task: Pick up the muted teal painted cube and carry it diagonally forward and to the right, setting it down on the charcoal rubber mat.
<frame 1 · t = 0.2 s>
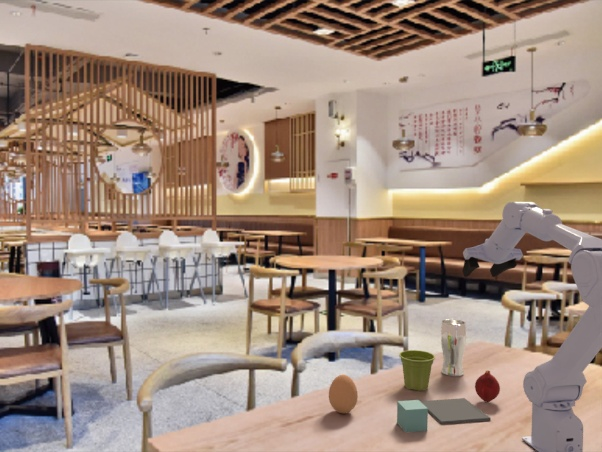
hand: (478, 273, 132), 32 cm above the table, tool tilted 50°, fingers open, 7 cm apart
cube: (411, 427, 115), on the table
beer glass: (452, 373, 152), on the table
plant pot: (416, 387, 140), on the table
egg: (342, 413, 123), on the table
onion: (486, 403, 130), on the table
mat: (453, 411, 124), on the table
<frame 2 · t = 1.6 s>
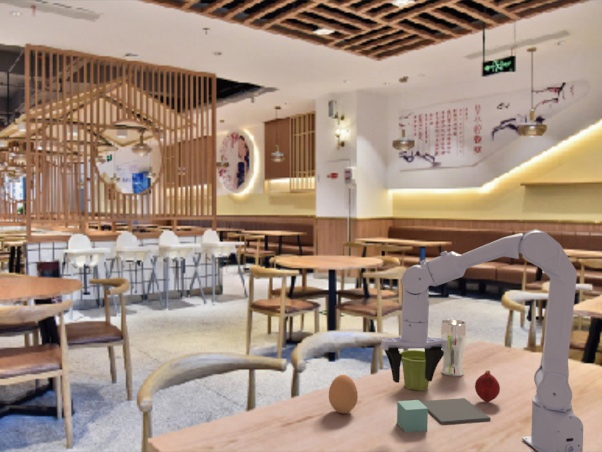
hand: (412, 380, 116), 10 cm above the table, tool pointing down, fingers open, 7 cm apart
nothing on the table moved.
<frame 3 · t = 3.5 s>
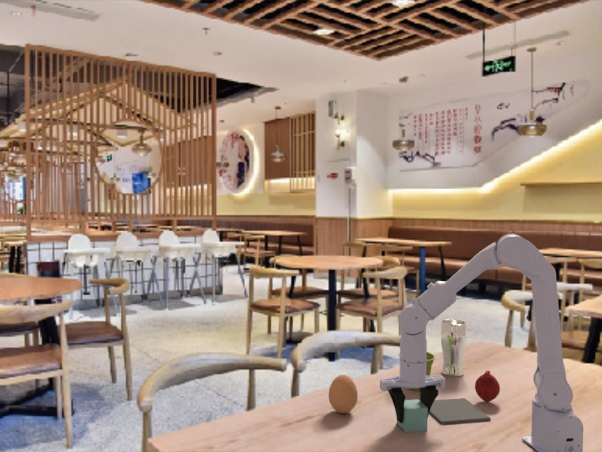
hand: (412, 420, 115), 1 cm above the table, tool pointing down, fingers closed on cube, 5 cm apart
cube: (411, 426, 115), on the table, touching gripper
everything else where it was.
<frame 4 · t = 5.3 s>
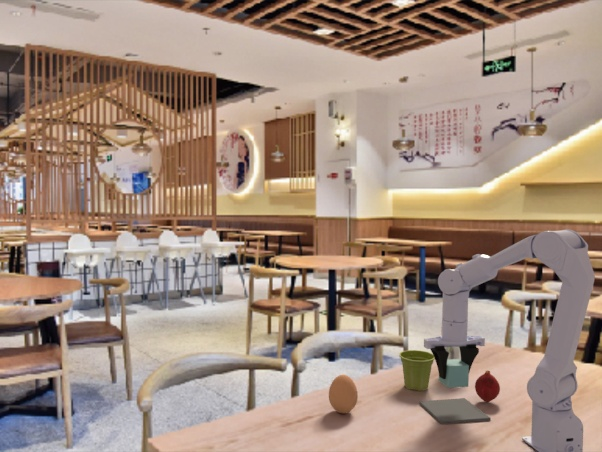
hand: (453, 377, 123), 8 cm above the table, tool pointing down, fingers closed on cube, 5 cm apart
cube: (453, 383, 123), point 7 cm above the table, touching gripper
everything else where it was.
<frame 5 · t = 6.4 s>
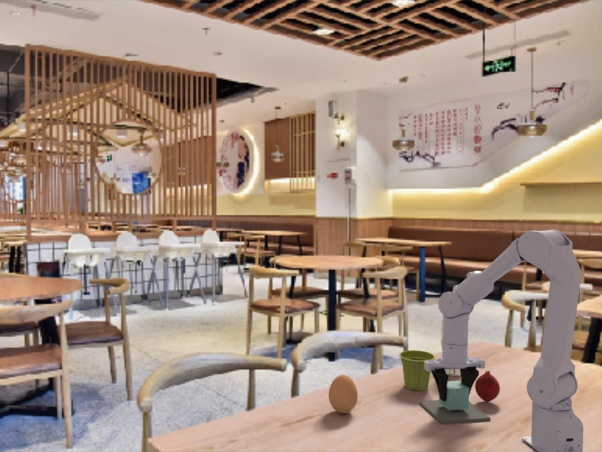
hand: (453, 399, 124), 3 cm above the table, tool pointing down, fingers closed on cube, 5 cm apart
cube: (453, 405, 124), point 1 cm above the table, touching gripper
everything else where it was.
when the fingers open (3 cm above the table, at t = 7.3 s): cube stays where it is, resting on mat.
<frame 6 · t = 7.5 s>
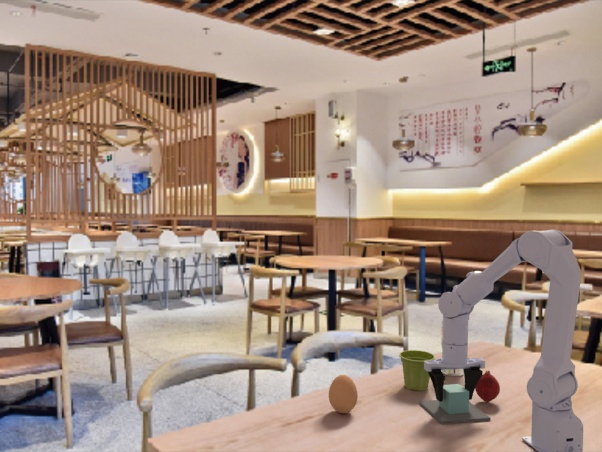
hand: (453, 399, 124), 3 cm above the table, tool pointing down, fingers open, 7 cm apart
cube: (453, 409, 124), point 1 cm above the table, touching mat
everything else where it was.
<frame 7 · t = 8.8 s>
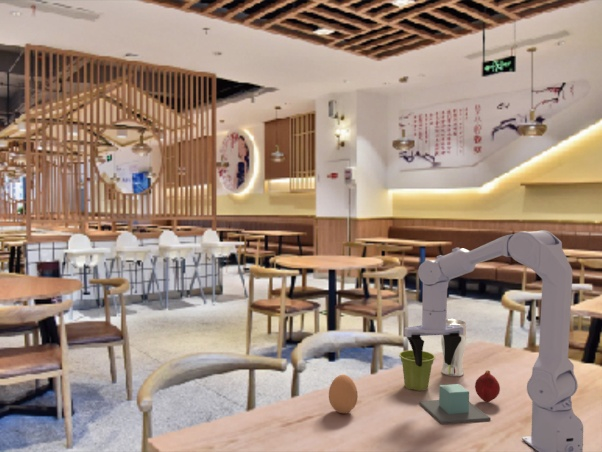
hand: (433, 364, 128), 10 cm above the table, tool pointing down, fingers open, 7 cm apart
nothing on the table moved.
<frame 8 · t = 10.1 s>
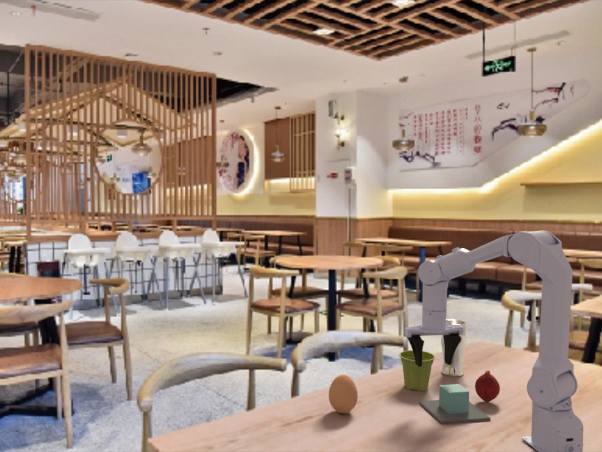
hand: (433, 364, 128), 10 cm above the table, tool pointing down, fingers open, 7 cm apart
nothing on the table moved.
at the end: cube inside the target area on the mat (0.0 cm from its centre), point 0.6 cm above the mat's base; cube tilted 0°; the gripper is holding nothing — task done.
